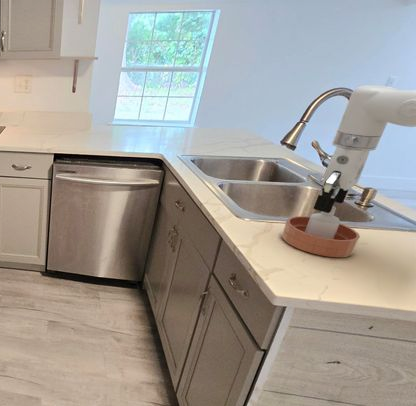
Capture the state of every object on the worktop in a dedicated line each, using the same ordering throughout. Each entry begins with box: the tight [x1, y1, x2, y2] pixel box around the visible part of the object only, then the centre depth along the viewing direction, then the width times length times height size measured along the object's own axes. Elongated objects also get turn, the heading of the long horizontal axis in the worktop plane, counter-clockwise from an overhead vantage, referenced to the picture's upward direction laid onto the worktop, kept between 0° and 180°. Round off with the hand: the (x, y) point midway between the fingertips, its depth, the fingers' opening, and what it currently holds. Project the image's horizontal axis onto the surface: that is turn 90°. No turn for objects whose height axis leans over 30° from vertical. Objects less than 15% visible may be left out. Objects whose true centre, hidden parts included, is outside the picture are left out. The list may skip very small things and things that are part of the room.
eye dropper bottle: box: [305, 205, 341, 239], centre depth 95 cm, size 4×6×12 cm
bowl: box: [281, 215, 361, 258], centre depth 96 cm, size 14×14×5 cm
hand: (328, 206), depth 93 cm, fingers open, 9 cm apart
